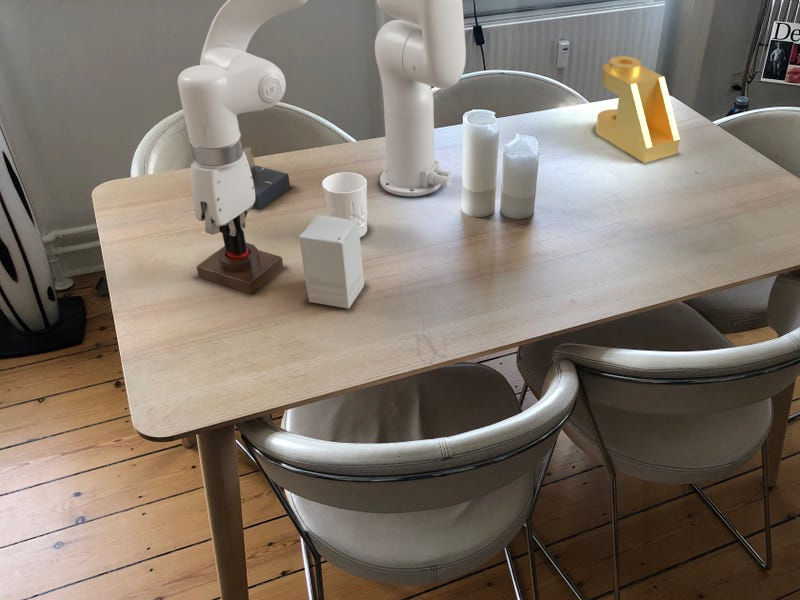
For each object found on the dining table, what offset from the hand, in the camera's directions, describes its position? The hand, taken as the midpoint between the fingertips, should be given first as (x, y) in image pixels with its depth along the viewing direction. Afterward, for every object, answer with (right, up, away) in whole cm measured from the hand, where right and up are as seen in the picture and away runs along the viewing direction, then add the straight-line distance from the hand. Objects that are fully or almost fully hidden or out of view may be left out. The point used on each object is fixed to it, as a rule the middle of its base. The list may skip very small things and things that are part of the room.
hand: (236, 251), depth 140 cm
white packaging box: (+17, -7, -1) cm, 19 cm away
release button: (0, -1, +1) cm, 2 cm away
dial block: (-4, +15, +25) cm, 29 cm away
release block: (0, -3, +3) cm, 4 cm away
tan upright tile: (-4, +17, +23) cm, 29 cm away
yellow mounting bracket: (+75, +31, +46) cm, 93 cm away
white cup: (+17, +5, +14) cm, 23 cm away
